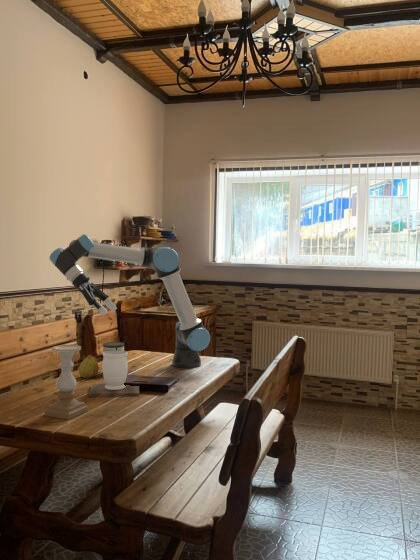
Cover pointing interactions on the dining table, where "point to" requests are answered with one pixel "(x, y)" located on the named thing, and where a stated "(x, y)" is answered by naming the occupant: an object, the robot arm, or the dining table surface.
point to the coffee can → (113, 346)
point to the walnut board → (112, 391)
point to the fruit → (88, 367)
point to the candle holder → (66, 387)
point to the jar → (115, 369)
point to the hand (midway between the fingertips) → (110, 311)
